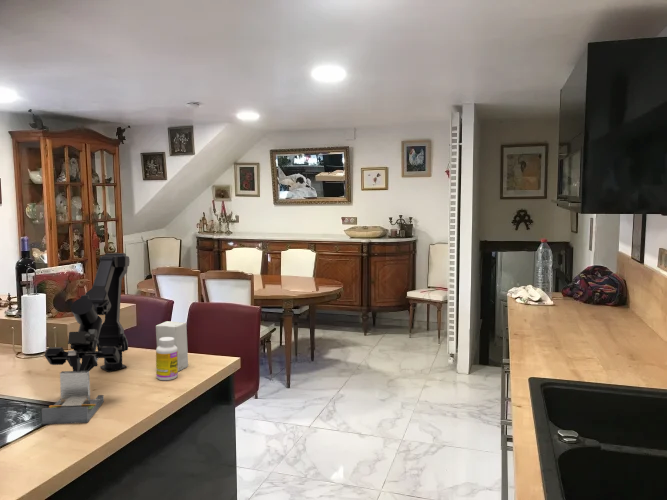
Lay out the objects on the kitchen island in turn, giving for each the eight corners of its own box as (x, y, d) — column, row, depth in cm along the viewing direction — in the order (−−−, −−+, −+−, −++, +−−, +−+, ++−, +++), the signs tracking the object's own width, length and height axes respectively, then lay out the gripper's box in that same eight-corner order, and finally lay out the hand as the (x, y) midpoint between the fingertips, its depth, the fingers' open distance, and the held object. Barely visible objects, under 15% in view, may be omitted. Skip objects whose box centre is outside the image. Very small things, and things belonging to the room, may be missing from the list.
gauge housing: (62, 403, 149) (62, 389, 148) (103, 401, 150) (103, 388, 150) (42, 424, 135) (41, 409, 134) (87, 422, 136) (86, 407, 136)
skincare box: (188, 366, 181) (188, 322, 180) (177, 372, 175) (176, 326, 174) (168, 363, 184) (167, 320, 183) (156, 369, 178) (155, 324, 176)
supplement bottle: (171, 381, 167) (170, 342, 165) (152, 380, 168) (151, 340, 167) (181, 374, 173) (181, 336, 172) (163, 373, 175) (162, 335, 173)
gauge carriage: (54, 407, 143) (53, 371, 142) (99, 405, 145) (98, 370, 144) (48, 413, 139) (46, 376, 138) (94, 412, 141) (93, 375, 140)
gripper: (45, 319, 146) (30, 370, 136) (116, 318, 149) (105, 369, 139) (57, 339, 155) (43, 389, 145) (124, 338, 157) (114, 387, 147)
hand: (76, 383), depth 144 cm, fingers closed, pressing on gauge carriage
